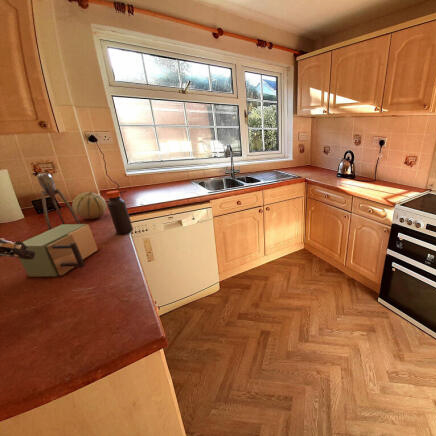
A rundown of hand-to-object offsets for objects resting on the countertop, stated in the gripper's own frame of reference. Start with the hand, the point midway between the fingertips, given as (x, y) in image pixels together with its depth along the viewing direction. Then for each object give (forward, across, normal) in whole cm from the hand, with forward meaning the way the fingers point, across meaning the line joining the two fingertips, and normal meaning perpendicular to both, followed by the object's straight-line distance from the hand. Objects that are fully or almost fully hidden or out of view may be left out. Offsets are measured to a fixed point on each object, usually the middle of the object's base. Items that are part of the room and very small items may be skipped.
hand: (32, 255), depth 68 cm
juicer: (+42, +35, -21) cm, 59 cm away
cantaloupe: (+57, +40, -36) cm, 79 cm away
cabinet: (+24, +14, -4) cm, 28 cm away
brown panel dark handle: (+21, +4, -1) cm, 21 cm away
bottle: (+44, +9, -23) cm, 50 cm away
